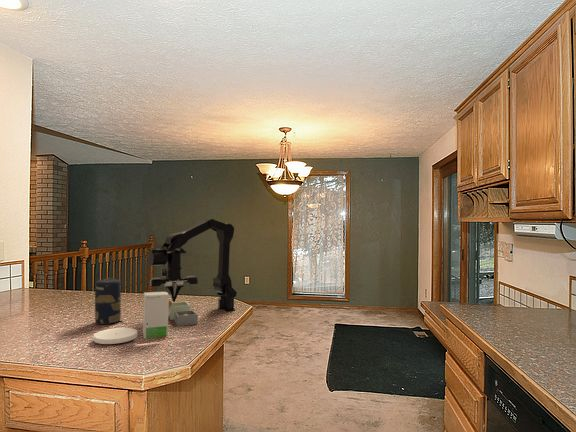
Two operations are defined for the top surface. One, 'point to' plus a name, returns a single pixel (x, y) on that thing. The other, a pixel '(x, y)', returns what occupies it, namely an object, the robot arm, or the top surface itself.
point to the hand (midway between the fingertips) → (173, 301)
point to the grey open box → (186, 318)
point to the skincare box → (155, 314)
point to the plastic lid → (115, 335)
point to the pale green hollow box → (177, 308)
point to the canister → (107, 301)
